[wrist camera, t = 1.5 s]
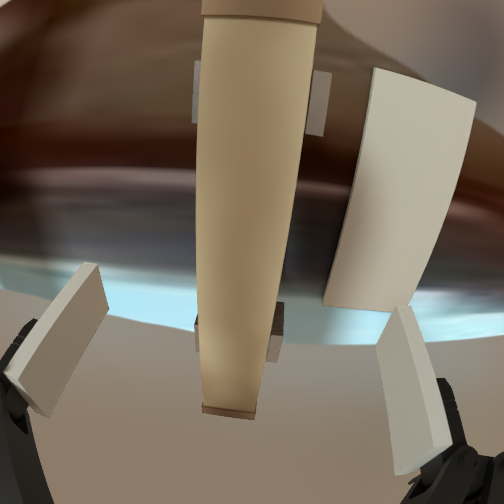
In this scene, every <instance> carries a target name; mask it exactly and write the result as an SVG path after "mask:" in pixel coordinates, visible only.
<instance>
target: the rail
mask: <svg viewBox="0 0 504 504" xmlns="http://www.w3.org/2000/svg"><path fill="white" fill-rule="evenodd" d="M322 7H323V0H202V9H201V15H202V16H204V17H205V21H204V32H203V44H202V57H201V72H200V88H199V107H198V130H197V164H196V269H197V303H198V327H199V347H200V364H201V379H202V392H203V403H202V413H206V414H213V415H219V416H226V417H232V418H241V419H248V420H254V419H255V414H256V404H257V397H258V392H259V387H260V382H261V378H262V373H263V368H264V363H265V358H266V353H267V348H268V343H269V338H270V332H271V327H272V322H273V317H274V311H275V306H276V300H277V295H278V289H279V284H280V278H281V273H282V267H283V261H284V255H285V250H286V244H287V238H288V232H289V226H290V220H291V213H292V207H293V201H294V195H295V188H296V182H297V175H298V168H299V162H300V155H301V148H302V141H303V134H304V127H305V120H306V112H307V105H308V97H309V89H310V81H311V73H312V65H313V57H314V48H315V39H316V30H317V28H318V26H319V25H320V24H321V17H322Z"/></svg>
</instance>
